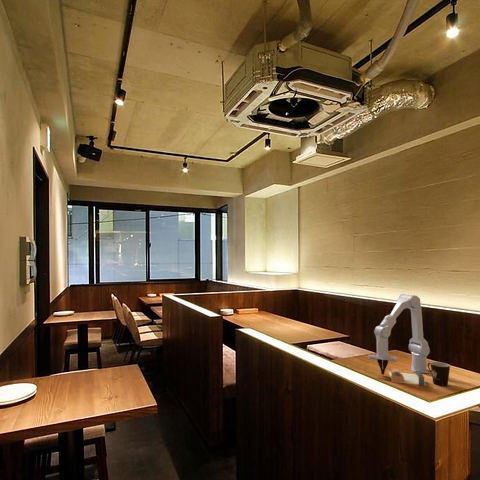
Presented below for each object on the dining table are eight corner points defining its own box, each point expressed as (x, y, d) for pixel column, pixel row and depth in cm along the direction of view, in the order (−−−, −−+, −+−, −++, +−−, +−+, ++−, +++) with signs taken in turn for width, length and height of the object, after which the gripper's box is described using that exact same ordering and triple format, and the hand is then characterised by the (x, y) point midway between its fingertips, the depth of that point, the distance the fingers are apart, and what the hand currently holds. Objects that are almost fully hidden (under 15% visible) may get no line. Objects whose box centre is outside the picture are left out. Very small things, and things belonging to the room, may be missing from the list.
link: (403, 382, 174) (403, 377, 174) (392, 380, 176) (392, 376, 176) (399, 372, 188) (399, 368, 189) (389, 371, 190) (389, 367, 190)
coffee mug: (453, 388, 168) (452, 367, 168) (434, 386, 169) (433, 366, 170) (444, 379, 179) (443, 360, 180) (426, 378, 181) (426, 359, 181)
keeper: (415, 379, 179) (415, 371, 179) (420, 380, 178) (420, 371, 178) (419, 385, 170) (418, 376, 171) (424, 386, 170) (424, 377, 170)
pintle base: (388, 371, 191) (388, 364, 191) (420, 375, 186) (420, 367, 186) (391, 381, 176) (391, 373, 176) (426, 385, 171) (426, 377, 171)
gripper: (368, 349, 184) (368, 374, 183) (397, 351, 179) (398, 377, 178) (368, 345, 191) (368, 370, 190) (396, 348, 186) (396, 373, 185)
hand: (382, 373), depth 185 cm, fingers closed
